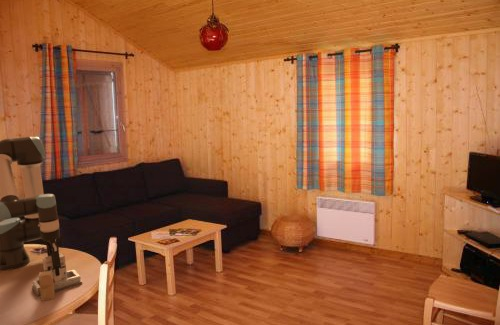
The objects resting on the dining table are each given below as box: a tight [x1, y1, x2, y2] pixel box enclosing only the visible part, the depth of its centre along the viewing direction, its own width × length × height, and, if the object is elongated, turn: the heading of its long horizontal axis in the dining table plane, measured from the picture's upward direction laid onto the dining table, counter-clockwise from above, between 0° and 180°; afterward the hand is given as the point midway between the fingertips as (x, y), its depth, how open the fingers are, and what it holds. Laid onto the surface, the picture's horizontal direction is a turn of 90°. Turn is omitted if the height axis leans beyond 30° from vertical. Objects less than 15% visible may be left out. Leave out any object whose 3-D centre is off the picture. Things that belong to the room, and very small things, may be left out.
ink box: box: [42, 252, 68, 282], centre depth 183 cm, size 8×5×12 cm, turn 125°
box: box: [38, 270, 56, 302], centre depth 172 cm, size 5×4×11 cm
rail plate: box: [31, 269, 83, 298], centre depth 184 cm, size 12×18×4 cm, turn 128°
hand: (56, 279), depth 184 cm, fingers open, 5 cm apart
